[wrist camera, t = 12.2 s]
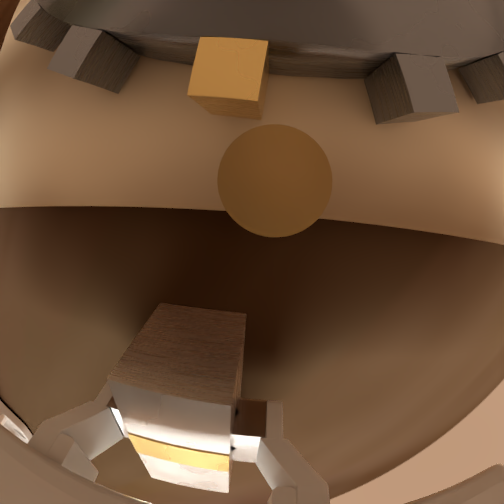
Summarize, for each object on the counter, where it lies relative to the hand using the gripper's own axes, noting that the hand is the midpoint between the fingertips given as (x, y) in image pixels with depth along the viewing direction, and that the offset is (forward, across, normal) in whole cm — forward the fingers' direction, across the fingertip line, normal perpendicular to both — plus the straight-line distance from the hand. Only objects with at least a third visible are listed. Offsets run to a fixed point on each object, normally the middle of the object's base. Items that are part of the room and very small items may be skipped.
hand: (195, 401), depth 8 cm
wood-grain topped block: (+2, 0, 0) cm, 2 cm away
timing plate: (+2, +2, +19) cm, 19 cm away
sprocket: (0, +2, +19) cm, 19 cm away
